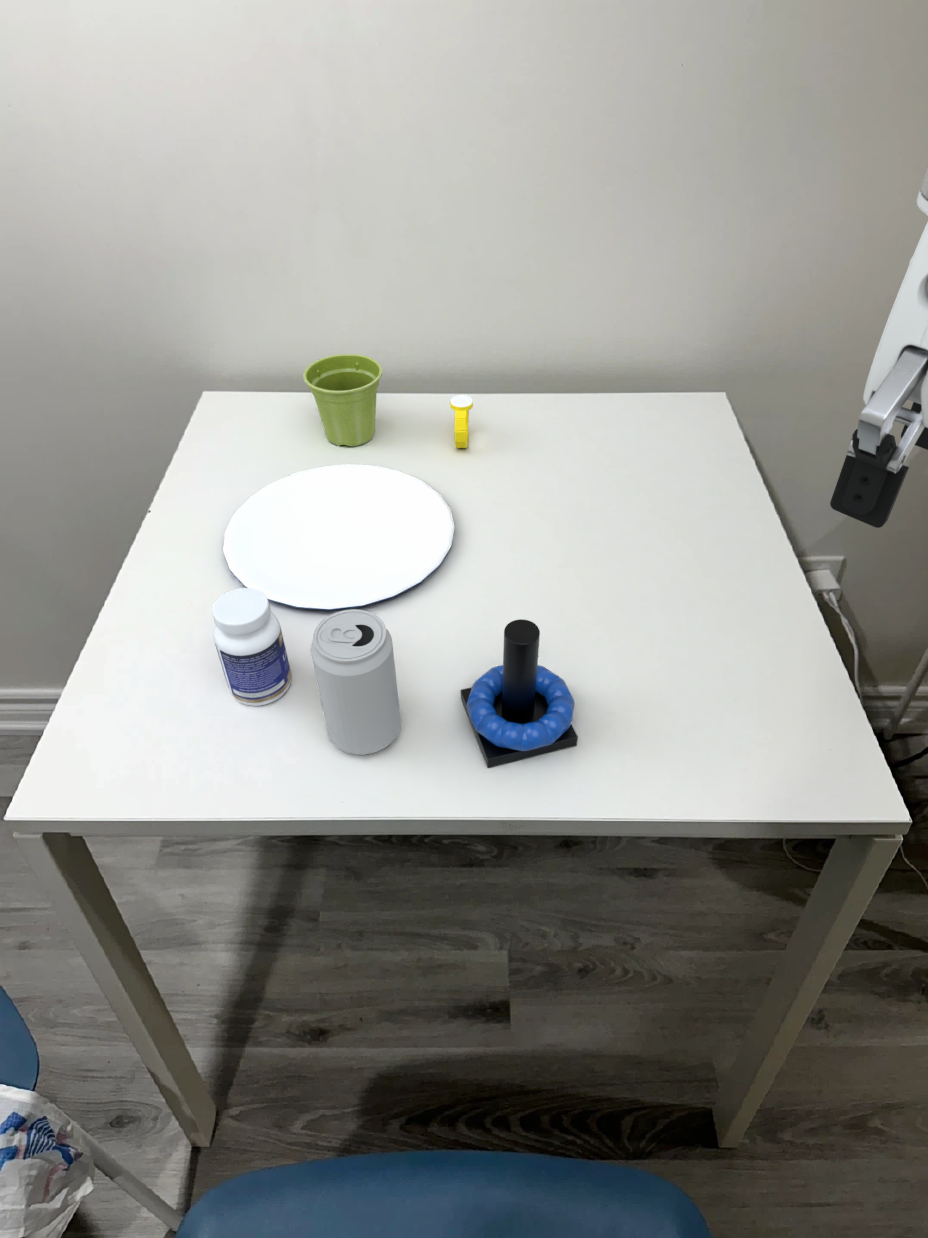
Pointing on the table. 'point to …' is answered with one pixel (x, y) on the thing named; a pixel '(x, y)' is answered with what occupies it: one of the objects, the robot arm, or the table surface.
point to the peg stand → (519, 694)
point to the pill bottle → (250, 647)
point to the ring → (516, 733)
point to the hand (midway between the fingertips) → (892, 479)
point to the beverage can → (356, 681)
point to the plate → (339, 536)
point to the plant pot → (345, 396)
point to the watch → (461, 418)
